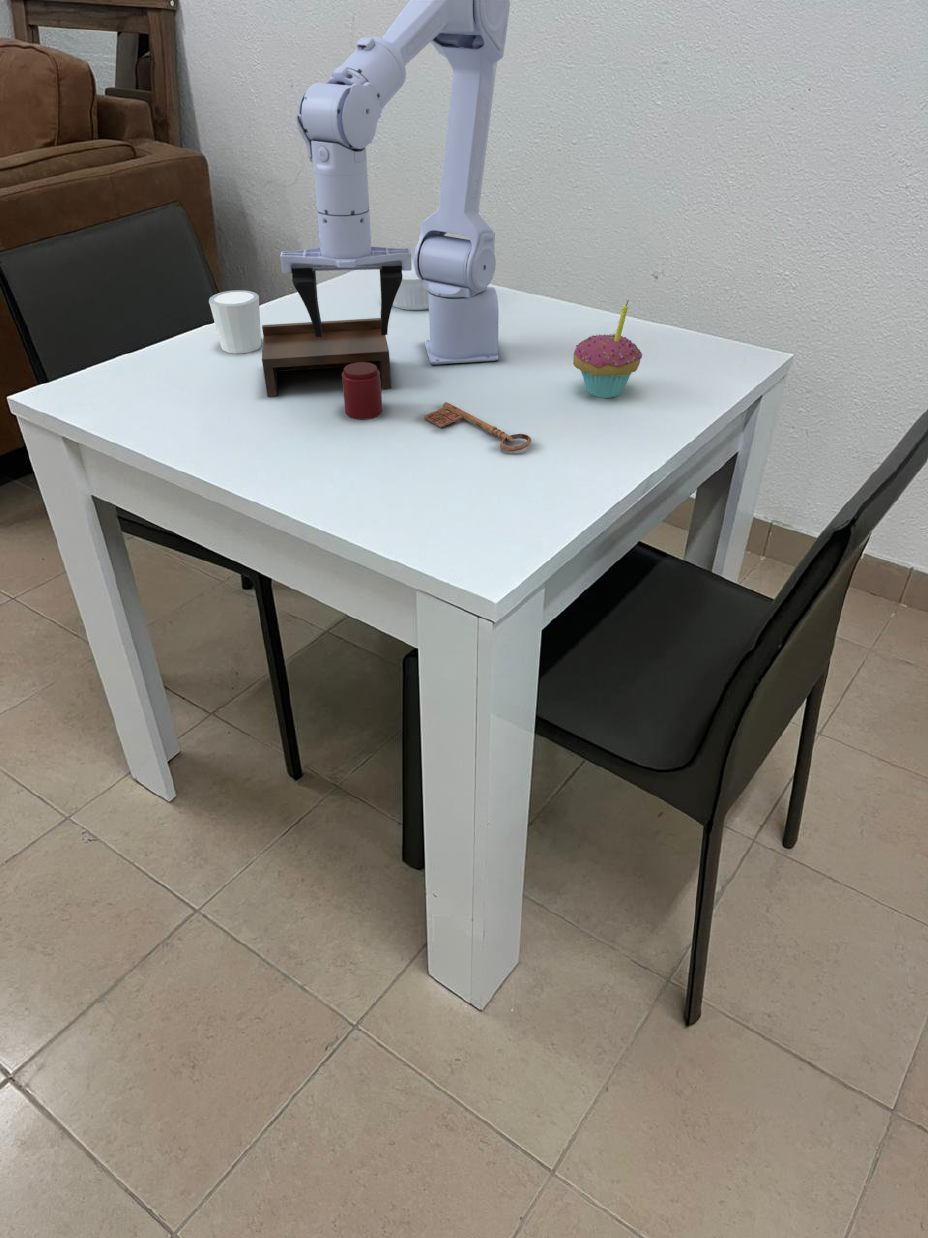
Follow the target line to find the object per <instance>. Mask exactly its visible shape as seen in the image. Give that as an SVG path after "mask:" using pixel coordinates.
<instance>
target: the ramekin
mask: <svg viewBox="0 0 928 1238" xmlns="http://www.w3.org/2000/svg"><path fill="white" fill-rule="evenodd" d="M413 258H414V257H411V266H412V270H407V271H403V270H402V282H401V285H400V287H399V289H398V292H397V294H396V297H395V299H394V302H393V305H392V307H394V308H396V309H400V310H406V311H408V310H409V311H423V310H429V297H428V290H426V289H424V288H423V281H421V280H420V279H419V278H418V277H417V275H416V272H415V268H414V262H413Z"/></svg>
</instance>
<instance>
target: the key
mask: <svg viewBox="0 0 928 1238" xmlns="http://www.w3.org/2000/svg"><path fill="white" fill-rule="evenodd" d="M423 419H425V420H426V421H428V422H430V423H432V424H433V425H435V426H437V427H439V428H444V427H446V426H448V425H450V424H452V423H454V422H457V421H460V420H462V419H464V420H466V421H467V422H469V423H471V424H473V425H475V426H477V427H479V428H481V429H482V430H485V431H486V432H488V433H489V434H490V435H493V436H495V437H497V438H499V439H500V440H501V441H500V448H501V449H502V450H503V451H506V452H519V451H521V450H524V449H526V448H528V447H529V446H530V445H531V443H532V437H531V436H530V435H528V434H524V433H514V434H511V435H509V434H507V433H506V432H505V431H504V430H501V429H499V428H497V427H496V426H495V425H494V426H493V425H491V424H489V423H487V422H485V421H484V420H482V419H480V418H477V416H474V415H472V414H470V413H468V412H466V411H464V410H462V409H461V408H459V407H457V406H455V405H453V404H451V403H449V402H448V401H445V402H444V403H443V404H442V407H441V408H439V409H436V410H435V411H433V412H430V413H427V414H425V415H424V416H423ZM518 439H519V440H520V439H522V440H525V441H526V442H524V443H522V444H519V445H514V446H509V445H506V443H514V442H515V440H518Z"/></svg>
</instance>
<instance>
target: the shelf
mask: <svg viewBox="0 0 928 1238" xmlns="http://www.w3.org/2000/svg"><path fill="white" fill-rule="evenodd" d="M321 327H322V337H315V331H314V327H313V324H312V321H307V322H291V323H273V324H262V325H261V330H262V337H263V338H262V352H261V363H262V369H263V371H262V372H263V377H264V382H265V390H266V397H268V398H269V397H277V395H278V393H277V392H278V372H287V371H288V372H289V371H303V370H304V371H305V370H317V369H318V370H319V369H334V368H335V369H336V368H345V367H346V366H347V365H349V364H352V363H357V362H367V363H372V364H374V365H376V366H377V369H378V370H379V372H380V383H381V390H382V389H383V390H385V389H392V376H391V375H392V374H391V361H390V359H391V357H390V350H389V349H390V348H389V345H388V340H387V335H381V317H374V318H357V319H355V318H354V319H340V320H323V321H322V320H321Z"/></svg>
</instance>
